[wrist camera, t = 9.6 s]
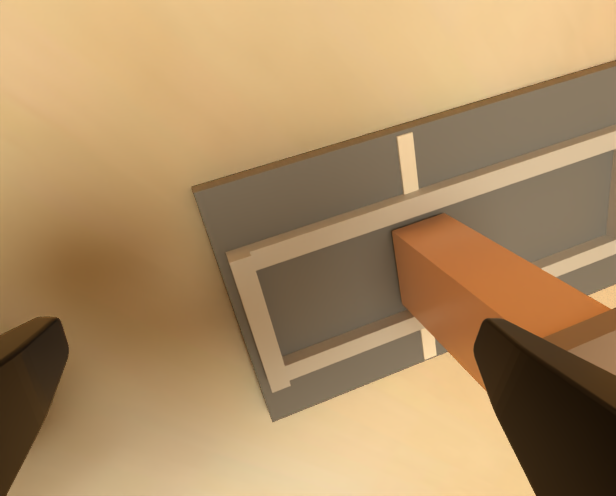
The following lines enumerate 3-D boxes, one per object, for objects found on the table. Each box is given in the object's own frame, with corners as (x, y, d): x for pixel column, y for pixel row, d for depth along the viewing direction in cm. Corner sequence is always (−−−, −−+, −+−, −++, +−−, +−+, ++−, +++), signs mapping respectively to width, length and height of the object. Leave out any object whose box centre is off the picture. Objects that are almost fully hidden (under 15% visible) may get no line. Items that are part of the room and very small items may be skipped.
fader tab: (400, 306, 25) (548, 461, 16) (389, 229, 23) (552, 356, 14) (452, 286, 26) (624, 425, 17) (445, 210, 24) (639, 319, 14)
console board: (268, 409, 27) (277, 438, 25) (191, 186, 21) (195, 201, 19) (606, 275, 31) (636, 291, 29) (628, 56, 25) (667, 57, 23)
